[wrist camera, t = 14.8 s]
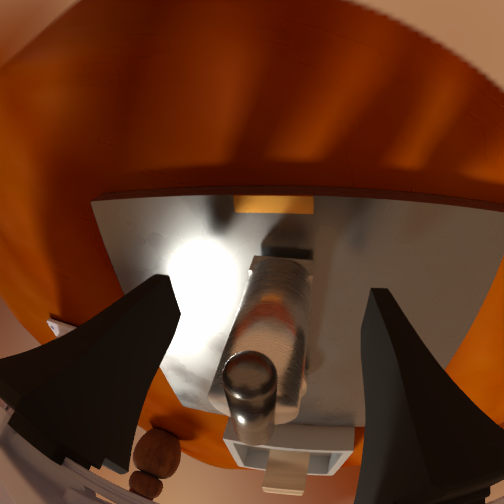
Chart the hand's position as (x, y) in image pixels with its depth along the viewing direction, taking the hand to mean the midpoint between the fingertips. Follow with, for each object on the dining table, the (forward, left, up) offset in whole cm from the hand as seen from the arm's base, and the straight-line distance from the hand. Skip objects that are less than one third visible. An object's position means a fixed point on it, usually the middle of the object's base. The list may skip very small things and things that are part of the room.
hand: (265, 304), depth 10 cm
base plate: (-7, -1, -4) cm, 8 cm away
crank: (-4, 0, -2) cm, 4 cm away
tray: (-24, -1, -4) cm, 24 cm away
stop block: (-24, -1, -3) cm, 24 cm away
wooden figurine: (-33, +17, -4) cm, 37 cm away
